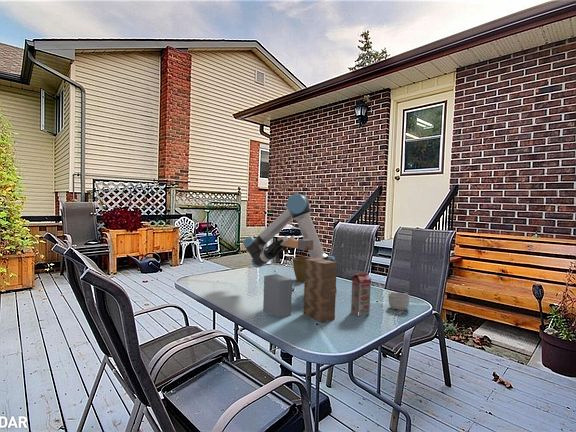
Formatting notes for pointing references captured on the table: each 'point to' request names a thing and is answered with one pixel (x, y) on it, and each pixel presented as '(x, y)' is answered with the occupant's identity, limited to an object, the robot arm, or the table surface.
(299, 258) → the plant pot
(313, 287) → the walnut stand
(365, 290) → the juice carton
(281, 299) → the grey stand
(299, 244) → the brown block
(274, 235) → the robot arm
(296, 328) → the table surface
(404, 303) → the teacup
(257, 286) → the table surface
